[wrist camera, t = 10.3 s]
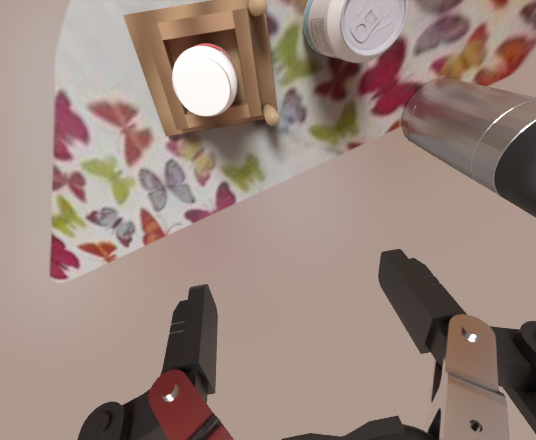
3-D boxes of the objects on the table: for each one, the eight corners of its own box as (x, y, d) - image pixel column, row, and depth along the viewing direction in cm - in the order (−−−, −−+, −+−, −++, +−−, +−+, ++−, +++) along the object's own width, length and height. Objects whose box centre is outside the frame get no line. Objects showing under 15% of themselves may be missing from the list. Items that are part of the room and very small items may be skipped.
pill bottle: (245, 64, 33) (252, 77, 24) (220, 110, 36) (218, 137, 27) (197, 29, 31) (184, 29, 22) (174, 81, 33) (154, 100, 24)
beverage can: (370, 16, 33) (431, 10, 23) (328, 67, 35) (367, 82, 26) (332, -36, 30) (383, -68, 20) (289, 25, 32) (315, 22, 23)
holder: (262, -7, 30) (269, -15, 26) (276, 114, 38) (284, 127, 33) (126, 15, 30) (106, 12, 25) (167, 134, 38) (158, 149, 33)
